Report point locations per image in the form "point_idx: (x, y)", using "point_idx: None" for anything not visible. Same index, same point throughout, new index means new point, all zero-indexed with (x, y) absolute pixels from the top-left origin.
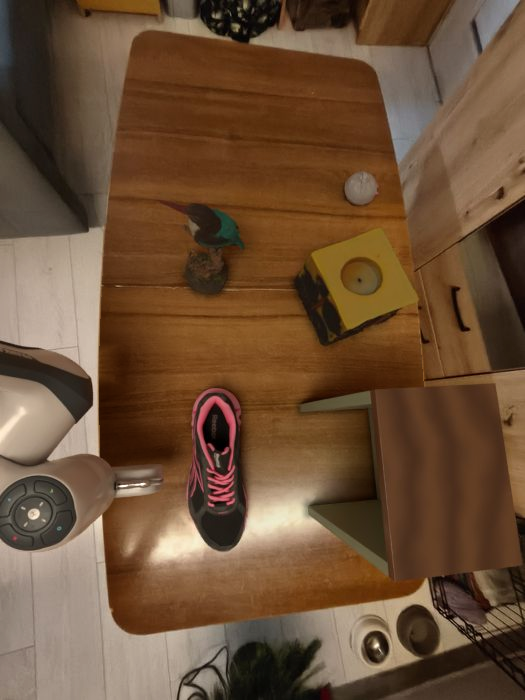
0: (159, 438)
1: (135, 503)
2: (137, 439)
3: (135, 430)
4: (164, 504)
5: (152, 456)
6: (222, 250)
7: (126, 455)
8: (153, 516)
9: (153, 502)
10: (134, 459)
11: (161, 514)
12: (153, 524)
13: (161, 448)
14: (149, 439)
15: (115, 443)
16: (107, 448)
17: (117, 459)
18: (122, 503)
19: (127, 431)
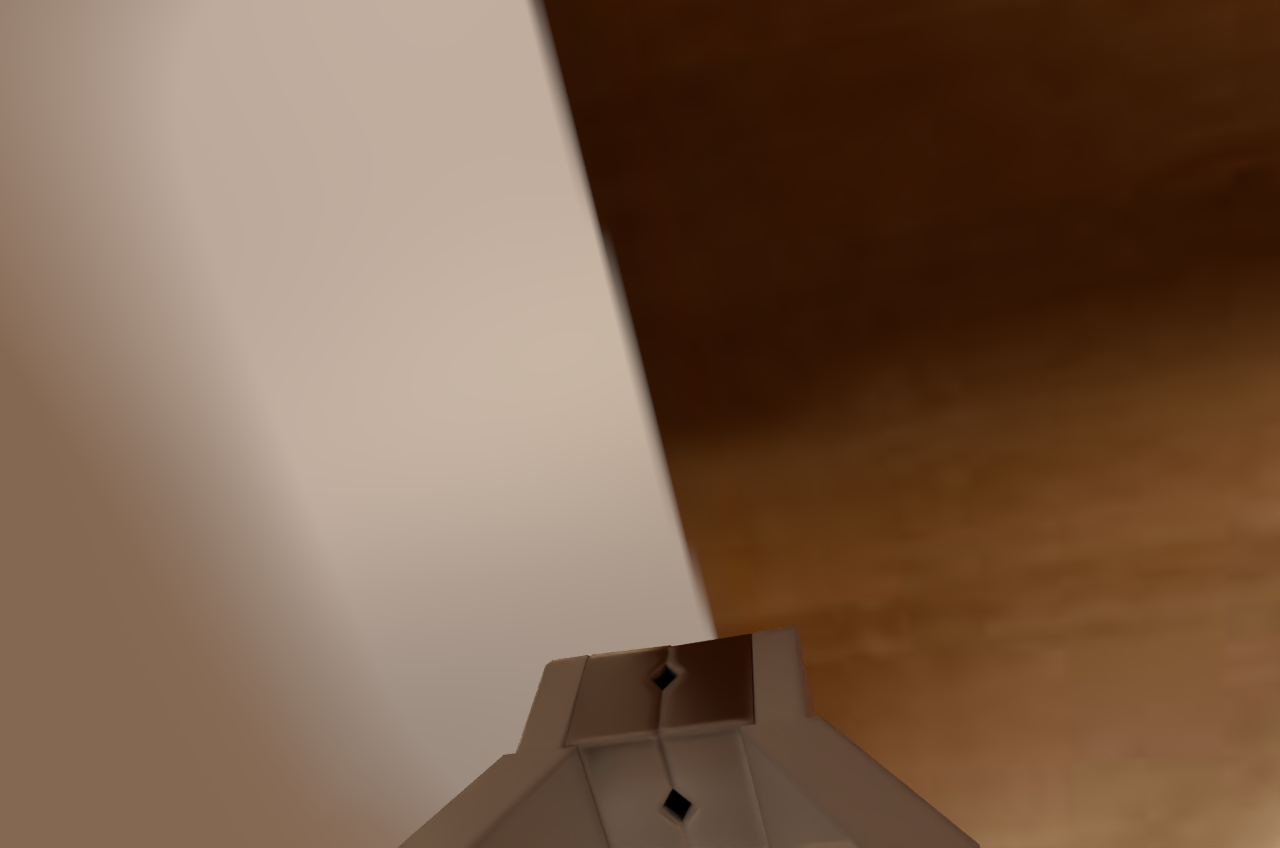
0: (1226, 53)
1: (987, 709)
2: (948, 115)
3: (912, 5)
4: (1266, 701)
5: (1138, 283)
6: None
7: (845, 312)
8: (1158, 790)
9: (1157, 692)
10: (936, 341)
11: (1234, 773)
12: (1159, 841)
13: (1250, 176)
14: (1096, 89)
15: (706, 203)
16: (635, 269)
17: (759, 364)
18: (870, 715)
19: (816, 37)
